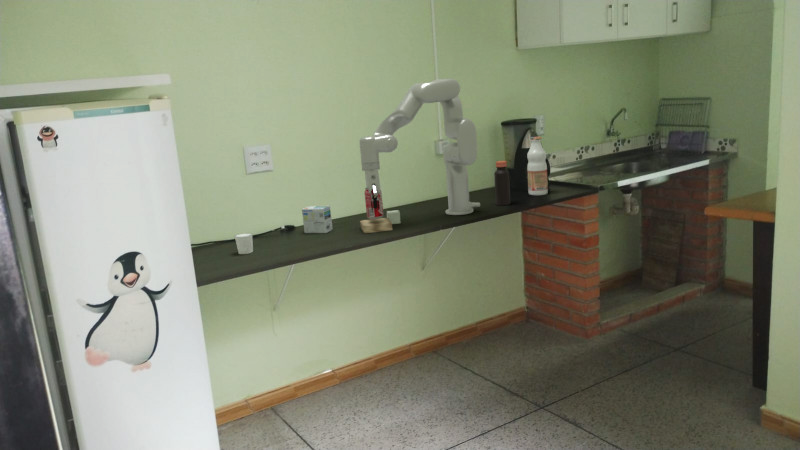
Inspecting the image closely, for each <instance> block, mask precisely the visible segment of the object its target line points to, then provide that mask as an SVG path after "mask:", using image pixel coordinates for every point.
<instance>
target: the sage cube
mask: <svg viewBox="0 0 800 450" xmlns="http://www.w3.org/2000/svg"><path fill="white" fill-rule="evenodd" d="M386 218H388V219H389V220H390V221H391V223H392V225H397V224H401V223H402V222H401V213H400V210H398V209H397V210H396V209H395V210H386Z"/></svg>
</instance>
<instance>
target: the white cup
mask: <svg viewBox="0 0 800 450" xmlns="http://www.w3.org/2000/svg"><path fill="white" fill-rule="evenodd" d="M234 239H235V243H236V248H237V252H238V255H247V254H251V253H253V252H254V245H253V243H254V242H253V241H254V240H253V239H254V238H253V233H251V232H244V233H238V234H236V235H234Z"/></svg>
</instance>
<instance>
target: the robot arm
mask: <svg viewBox="0 0 800 450" xmlns="http://www.w3.org/2000/svg"><path fill="white" fill-rule="evenodd" d="M460 92H461V85H460V83H459V82H458V81H457V80H456V79H454V78H437V79H433V80H432V81H431V82H416V83H414V84H412V85H411V86H410V87H409V89H408V90H407V92H406V93H405V94H404V95H403V98H402V99H401V101H400V103H399V104H398V105H397V107H396V108H395V110H394V111H392V112H391V113H390V114H389V115H388V116H387V117H386V118H385V119H383V121H381V122H380V124H379V125H378V126H377V128H376V130H375V131H374V132H373V134H372V135H371V136H369V135H368V136H362V137H361V138H359V150H360V151H359V152H360V164H361V171H362V172H364V177H365V178H364V179H365V188H367V189H368V191H369V194H371V191H372V189H373V194H371V200H372V201H373V205H372V201H371V207H372V210H373V207H374V209H376V208H377V201H378V210H379V200H378V193H379V192H380V193H382V189H381V183H380V176H379V175H380V174H379V170H381V166H380V153H391V152H394V151H395V150H396V149H397V147H398V144H399V143H398V142H399V141H398V139H397V137H396V136H395V135H394V133H396V132H397V131H399V129H401V128H403V127H405V126H408V124H410V123H411V122H412V121H413V120H414V119H415V117H416V116H417V115H418V113H419V111H420V110H421V108H422V107H423V105H424V104H434V103H440V105H441V107H442V113H443V125H444V128H443V129H444V134H445V136H446V137H447V139H450V140H454V141H455V140H456V141H455V142H454V141H453V142H450V143H447V145H446V146H444V148H443V150H442V151H443V152H442V158H443V161H444V165H445V175H446V187H447V201H448V205H447V206H448V209H446V210H445V214H446V215H450V216H463V215H468V214H472V213H473V212H474V208H478V207H481V203H480V202H474V201H473V202H472V201H470V191H469V189H470V188H469V172H468V169H467V166H471V165H473V164H474V163H475V162H476V160H477V158H478V141H477V140H478V138H477V128H476V125H475V124H474V122H473V120H471V119H469V118H468V117H464V111H463V104H462V100H461V99H460V97H459V94H460ZM376 190H377V191H378V193H377V191H376ZM372 195H373V196H372Z"/></svg>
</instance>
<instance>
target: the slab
mask: <svg viewBox="0 0 800 450" xmlns="http://www.w3.org/2000/svg"><path fill="white" fill-rule="evenodd" d="M359 224H360V225H359V226H360V229H361V231H362V233H363V234H369V233H378V232H379V233H380V232H387V231H393V224H392V223H391V221H390V220H389V219H388V218H387V217H382V218H380V219H362V220H360V221H359Z"/></svg>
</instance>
